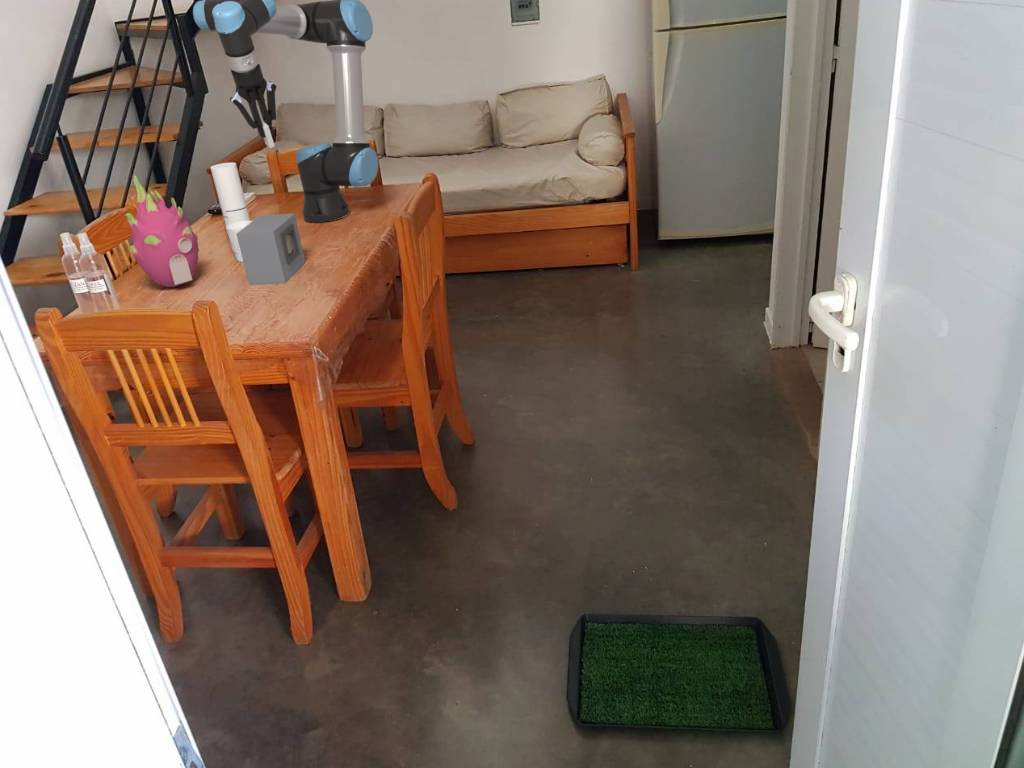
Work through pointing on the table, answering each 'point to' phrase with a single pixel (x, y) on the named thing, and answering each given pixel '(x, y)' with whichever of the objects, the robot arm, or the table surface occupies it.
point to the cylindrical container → (230, 193)
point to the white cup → (232, 231)
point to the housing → (270, 249)
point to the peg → (289, 243)
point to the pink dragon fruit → (162, 240)
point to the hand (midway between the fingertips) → (270, 145)
